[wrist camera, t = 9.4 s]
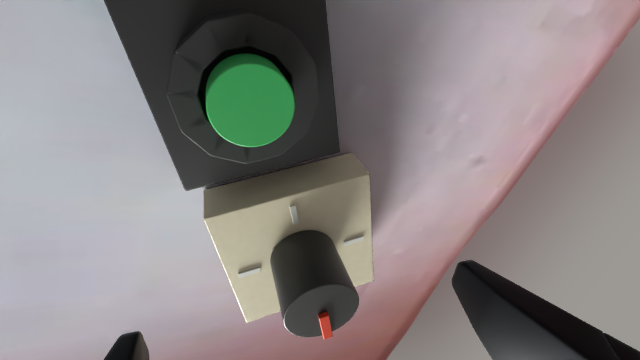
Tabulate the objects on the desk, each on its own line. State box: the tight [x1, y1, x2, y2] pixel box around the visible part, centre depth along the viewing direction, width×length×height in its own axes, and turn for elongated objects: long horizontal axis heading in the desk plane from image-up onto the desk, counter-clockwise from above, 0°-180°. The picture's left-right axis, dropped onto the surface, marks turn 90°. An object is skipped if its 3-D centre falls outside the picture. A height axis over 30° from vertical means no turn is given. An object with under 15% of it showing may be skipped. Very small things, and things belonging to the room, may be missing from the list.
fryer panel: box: [204, 153, 374, 322], centre depth 23 cm, size 10×10×3 cm
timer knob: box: [270, 230, 359, 340], centre depth 20 cm, size 4×4×5 cm
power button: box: [206, 53, 295, 147], centre depth 14 cm, size 4×4×2 cm
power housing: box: [104, 0, 340, 191], centre depth 16 cm, size 10×9×4 cm
